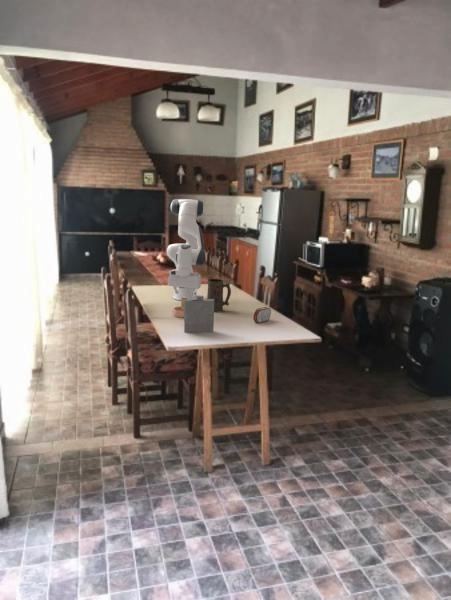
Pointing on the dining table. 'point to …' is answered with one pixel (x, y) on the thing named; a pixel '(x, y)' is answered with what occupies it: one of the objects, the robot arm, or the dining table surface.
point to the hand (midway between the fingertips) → (184, 294)
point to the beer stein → (218, 293)
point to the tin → (262, 314)
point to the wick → (183, 303)
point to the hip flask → (199, 315)
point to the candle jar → (178, 312)
